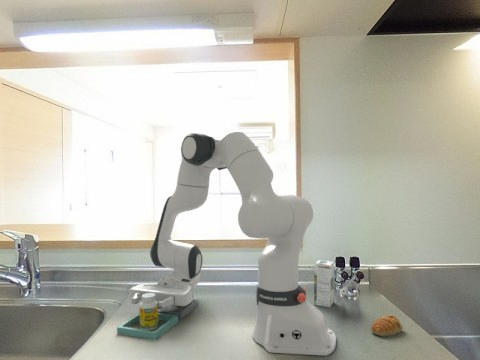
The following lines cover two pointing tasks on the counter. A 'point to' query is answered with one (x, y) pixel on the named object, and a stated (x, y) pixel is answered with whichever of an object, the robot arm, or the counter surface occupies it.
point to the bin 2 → (184, 311)
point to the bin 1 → (145, 333)
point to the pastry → (386, 326)
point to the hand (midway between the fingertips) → (146, 303)
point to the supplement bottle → (148, 312)
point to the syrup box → (324, 283)
